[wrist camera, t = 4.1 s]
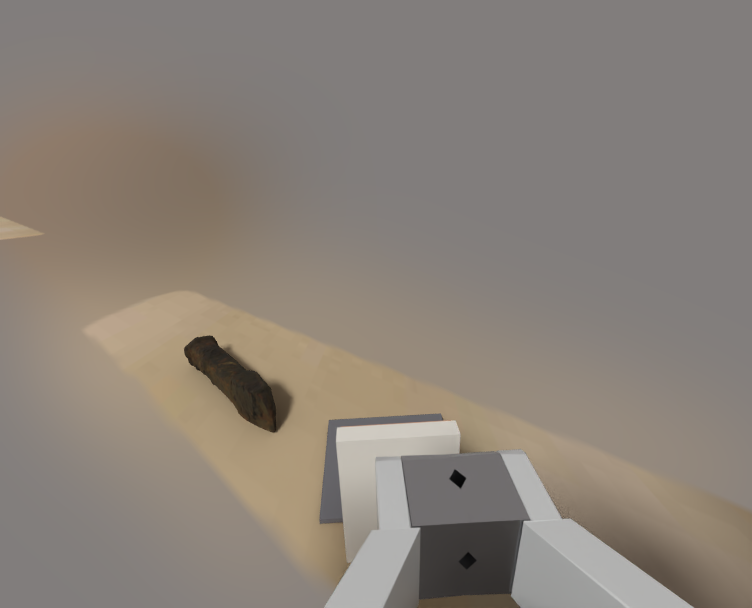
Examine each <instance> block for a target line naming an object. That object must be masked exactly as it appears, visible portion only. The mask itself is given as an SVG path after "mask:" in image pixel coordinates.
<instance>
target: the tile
mask: <svg viewBox="0 0 752 608" xmlns="http://www.w3.org/2000/svg"><path fill="white" fill-rule="evenodd" d="M336 448H337V459H338V470H339V481H340V492H341V503H342V514H343V526H344V537H345V548H346V559H347V563H351V562H352V561H353V559H354V558H355V556H356V554H357V553H358V551H359V549H360V548H361V546H362V545H363V543H364V541H365V540H366V538H367V536H368V535H369V533H370V532H371V530H377V508H376V474H375V458H376V457H395V456H400V457H401V456H408V455H444V454H459V449H460V432H459V429H458V426H457V424H456V421H451V420H445V421H428V422H411V423H394V424H377V425H360V426H343V427H337V433H336Z"/></svg>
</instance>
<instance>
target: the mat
mask: <svg viewBox="0 0 752 608" xmlns="http://www.w3.org/2000/svg"><path fill="white" fill-rule="evenodd" d="M428 421H443V419H442V416H441V414H425V415H408V416H391V417H373V418H356V419H339V420H329V425H328V435H327V446H326V456H325V467H324V477H323V488H322V498H321V509H320V519H319V520H320V524H321V523H336V522H343V514H342V503H341V492H340V481H339V470H338V459H337V448H336V433H337V427H343V426H360V425H377V424H394V423H411V422H428Z"/></svg>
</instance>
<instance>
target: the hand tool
mask: <svg viewBox="0 0 752 608" xmlns="http://www.w3.org/2000/svg"><path fill="white" fill-rule="evenodd" d="M184 353H185V356H186V357H187V358H188V361H189V363H190V364H191V365H192V366H195V367H196V369H197V370H201V372H202V373H203V374H205V375H206V376H207V377H208V378H209V379H210V380H211V382H212V383H213V385H216V386H217V387H218V388H219V389H220V390H221V391H222V392H223V393H224V394H225V395H226V396H227V397H228V398H229V399H230V401H231V402H233V404H234V405H235V407H236V408H237V410H238V413H239V414H240V415H241V416H242V417H243V418H244V419H246V420H247V421H249V422H251V423H253V424H254V425H256V426H258V427H261V428H263V429H265V430H268V431H270V432H275V430H276V419H275V415H276V408H275V403H274V400H273V396H272V392H271V388H270V387H269V386H268V385H267V384H266V382H265V381H264V380H263V379H262V378H261V377H260V375H259V374H258V373H257V372H255V371H246V370H245V369H244V368H243V367H242V366H241V365H240V364H239V363H238V362H237V361H236V360H234V359H233V358H232V357H231V356H230V355H229V354H227V353H226V352H225V351H224V350H223V349H221V348H220V347H219V346H218V343H217V341H216V340H215V338H214V337H213V336H203V337H196V338H195V339H193V340H192V341H191V342H190V343H189V344H188V345H187V346H185V348H184Z"/></svg>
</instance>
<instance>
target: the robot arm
mask: <svg viewBox="0 0 752 608" xmlns="http://www.w3.org/2000/svg"><path fill="white" fill-rule="evenodd" d="M375 474H376V508H377V530H371V532H370V533H369V535H368V536H367V538H366V540H365V541H364V543H363V545H362V546H361V548H360V549H359V551H358V553H357V554H356V556H355V558H354V559H353V561H352V562H351V564H350V566H349V567H348V569H347V571H346V572H345V574H344V576H343V577H342V579H341V580H340V582H339V584H338V585H337V587H336V589H335V590H334V592H333V593H332V595H331V597H330V598H329V600H328V602H327V603H326V605H325V606H324V608H417V607H418V604H419V600H420V599H430V598H440V597H451V596H461V595H485V594H511V597H512V598H513V599H514V600H515V602H516V603H517V604H518V605H519V606H520V607H521V608H694V607H692V606H691V605H689V604H688V603H687V602H685V601H684V600H683V599H681V598H680V597H678V596H677V595H676V594H674V593H673V592H672V591H670V590H669V589H667V588H666V587H665V586H663V585H662V584H660V583H659V582H658V581H656V580H655V579H654V578H652V577H651V576H649V575H648V574H647V573H645V572H644V571H642V570H641V569H640V568H638V567H637V566H636V565H634V564H633V563H631V562H630V561H629V560H627V559H626V558H624V557H623V556H622V555H620V554H619V553H618V552H616V551H615V550H613V549H612V548H611V547H609V546H608V545H606V544H605V543H604V542H602V541H601V540H600V539H598V538H597V537H595V536H594V535H593V534H591V533H590V532H588V531H587V530H586V529H584V528H583V527H582V526H580V525H579V524H577V523H576V522H575V521H573V520H572V519H562V517H561V515H560V514H559V512H558V510H557V508H556V507H555V505H554V503H553V501H552V499H551V498H550V496H549V494H548V492H547V490H546V489H545V487H544V485H543V483H542V482H541V480H540V478H539V476H538V474H537V473H536V471H535V469H534V467H533V466H532V464H531V462H530V460H529V458H528V457H527V455H526V453H525V452H524V451H522V450H521V449H518V450H503V451H496V452H495V451H491V452H475V453H459V454H444V455H408V456H401V457H400V456H395V457H376V458H375Z"/></svg>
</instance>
